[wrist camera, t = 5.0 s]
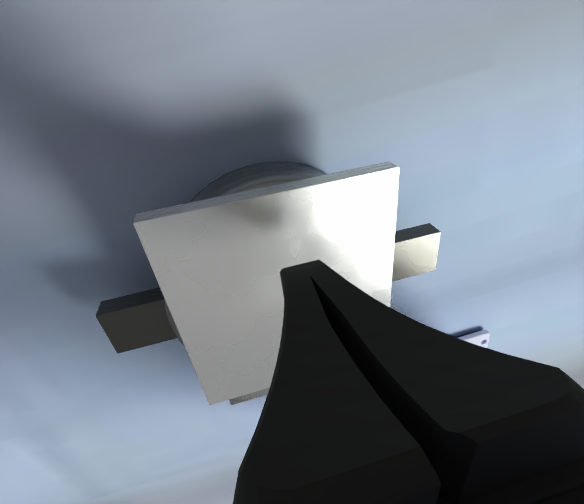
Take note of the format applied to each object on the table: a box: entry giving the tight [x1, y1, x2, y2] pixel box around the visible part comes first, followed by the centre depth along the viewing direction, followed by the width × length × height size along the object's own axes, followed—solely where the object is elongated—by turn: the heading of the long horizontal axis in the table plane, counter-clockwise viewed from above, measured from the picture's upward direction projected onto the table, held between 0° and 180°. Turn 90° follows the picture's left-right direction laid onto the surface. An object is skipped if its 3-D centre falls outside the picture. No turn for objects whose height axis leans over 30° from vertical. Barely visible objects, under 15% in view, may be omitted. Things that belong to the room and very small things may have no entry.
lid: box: [133, 162, 399, 405], centre depth 16 cm, size 12×10×2 cm
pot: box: [96, 162, 441, 353], centre depth 18 cm, size 12×17×3 cm
